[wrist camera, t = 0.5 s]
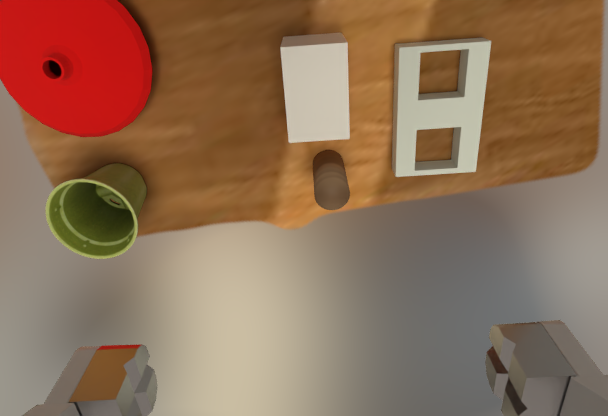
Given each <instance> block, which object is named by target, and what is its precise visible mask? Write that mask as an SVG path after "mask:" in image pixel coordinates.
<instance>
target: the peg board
mask: <svg viewBox="0 0 608 416" xmlns="http://www.w3.org/2000/svg"><path fill="white" fill-rule="evenodd" d="M490 47H491V41H490V40H487V39H485V38H469V39H456V40H442V41H428V42H414V43H401V44H395V58H394V100H393V141H392V170H393V172H394V174H395V176H396V177H401V176H417V175H432V174H448V173H463V172H476V165H477V157H478V148H479V140H480V131H481V123H482V115H483V106H484V98H485V89H486V81H487V73H488V64H489V56H490ZM448 50H461V54H460V65H459V76H458V87H457V91H455V92H441V93H426V94H418V92H419V72H420V52H434V51H448ZM451 127H454V132H453V143H452V154H451V160H438V161H423V162H415V152H416V132H417V130H422V129H437V128H451Z"/></svg>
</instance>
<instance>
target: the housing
mask: <svg viewBox="0 0 608 416" xmlns="http://www.w3.org/2000/svg"><path fill="white" fill-rule="evenodd" d="M280 49H281V60H282V72H283V83H284V94H285V105H286V116H287V128H288V139H289V143H295V142H310V141H324V140H339V139H350V131H349V86H348V42H347V41H346V39H345V38H344V36H343V34H342V33H328V34H314V35H301V36H287V37H283V39H282V43H281V47H280Z"/></svg>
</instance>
